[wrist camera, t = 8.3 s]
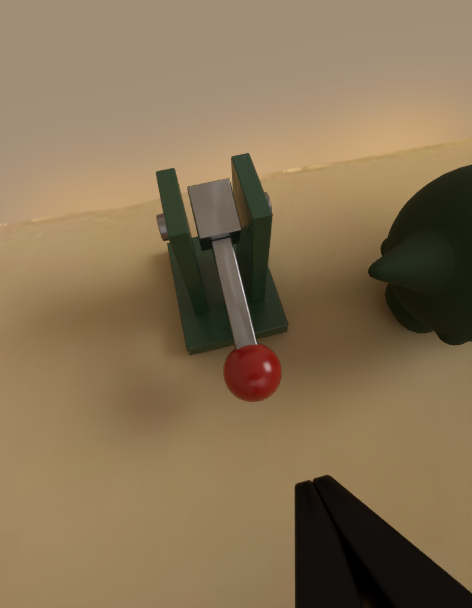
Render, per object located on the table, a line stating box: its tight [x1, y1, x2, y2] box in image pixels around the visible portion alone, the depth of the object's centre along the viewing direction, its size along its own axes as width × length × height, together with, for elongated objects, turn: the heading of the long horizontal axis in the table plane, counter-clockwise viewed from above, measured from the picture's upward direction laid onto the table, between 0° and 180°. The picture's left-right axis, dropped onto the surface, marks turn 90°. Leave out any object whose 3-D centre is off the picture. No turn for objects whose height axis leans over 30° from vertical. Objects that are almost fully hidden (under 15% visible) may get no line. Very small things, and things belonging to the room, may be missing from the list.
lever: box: [187, 178, 282, 402], centre depth 17 cm, size 11×3×3 cm, turn 14°
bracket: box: [156, 153, 288, 355], centre depth 21 cm, size 9×7×10 cm
